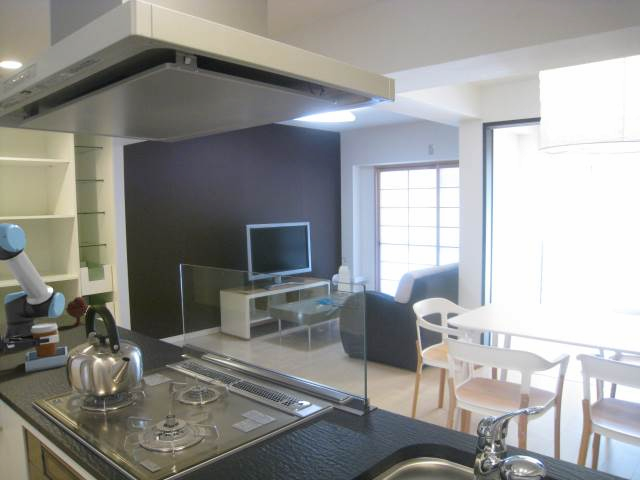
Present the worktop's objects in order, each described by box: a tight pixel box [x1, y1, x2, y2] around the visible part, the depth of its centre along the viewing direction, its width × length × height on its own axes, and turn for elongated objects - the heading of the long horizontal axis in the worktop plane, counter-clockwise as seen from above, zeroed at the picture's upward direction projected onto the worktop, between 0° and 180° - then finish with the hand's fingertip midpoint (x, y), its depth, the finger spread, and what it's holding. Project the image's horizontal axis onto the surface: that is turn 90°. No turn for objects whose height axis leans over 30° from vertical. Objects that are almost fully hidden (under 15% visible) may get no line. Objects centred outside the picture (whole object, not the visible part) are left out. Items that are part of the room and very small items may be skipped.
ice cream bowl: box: [65, 296, 90, 327], centre depth 266 cm, size 11×11×15 cm
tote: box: [24, 346, 69, 373], centre depth 201 cm, size 15×15×4 cm
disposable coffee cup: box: [31, 322, 58, 357], centre depth 200 cm, size 10×10×12 cm
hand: (58, 335), depth 202 cm, fingers closed on disposable coffee cup, 8 cm apart
